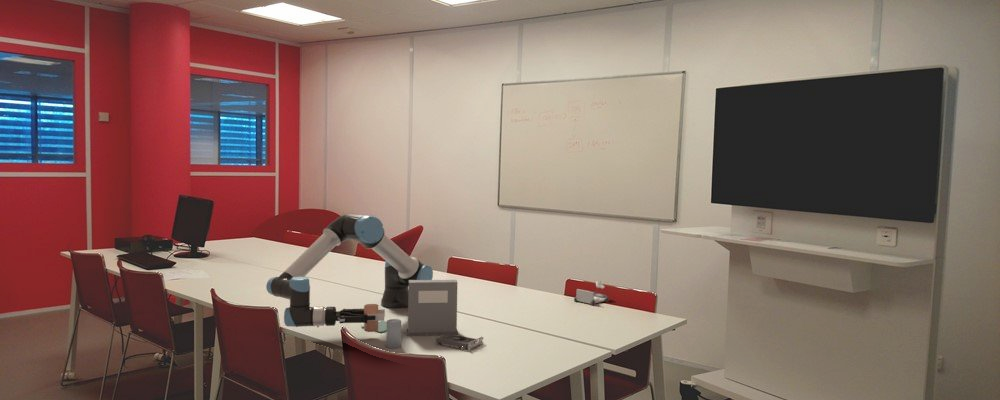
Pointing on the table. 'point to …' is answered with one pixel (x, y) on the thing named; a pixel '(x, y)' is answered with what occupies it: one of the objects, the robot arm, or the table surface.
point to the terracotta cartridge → (371, 325)
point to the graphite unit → (432, 307)
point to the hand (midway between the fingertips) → (384, 314)
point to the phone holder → (591, 295)
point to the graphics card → (459, 341)
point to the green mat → (381, 327)
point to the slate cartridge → (393, 333)
